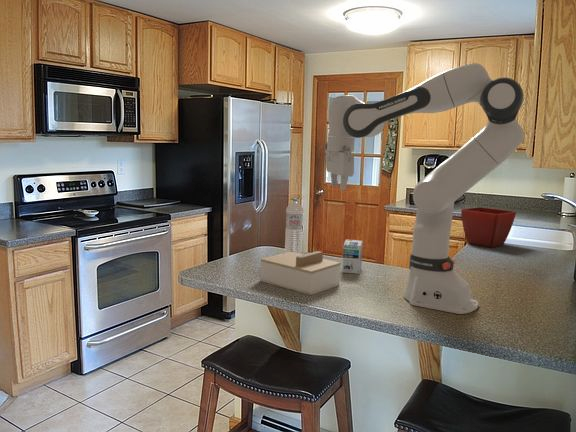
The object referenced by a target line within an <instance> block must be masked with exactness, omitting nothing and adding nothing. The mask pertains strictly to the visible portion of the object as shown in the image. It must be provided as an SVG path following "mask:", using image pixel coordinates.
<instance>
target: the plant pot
mask: <svg viewBox="0 0 576 432" xmlns="http://www.w3.org/2000/svg"><path fill="white" fill-rule="evenodd" d="M460 210H461V211H460V213H461V214H460V215H461V223H462V227H463V232H464V235H465V238H466V242H467V244H471V245H477V246H482V247H486V248H494V247H500V246H503V245H504V244H505V243H506V240H508V239H507V238H508V236H509V235H510V232H511V229H512V227H513V224H514V222H515V219H516V215H517V212H516V211H513V210H506V209H498V208H491V207H471V208H469V207H468V208H462V209H460Z"/></svg>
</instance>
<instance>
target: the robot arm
mask: <svg viewBox="0 0 576 432" xmlns="http://www.w3.org/2000/svg"><path fill="white" fill-rule="evenodd" d="M524 97H525V95H524V91H523V88H522V86H521V85H520V84H519V82H518V81H516V80H515V79H513V78H510V77H507V76H506V77H497V78H495V79H492V78H490V75H489V73H488V71H487V69H486V68H485V67H484V66H483V65H482V64H480V63H477V62H474V63H473V62H472V63H469V64H465V65H459V66H457V67H453V68H450V69H447V70H445V71H442V72H440V73H438V74H436V75H433V76H432V77H430V78H428V79H426V80H424V81H422V82H421V83H419V84H417V85H415V86H413V87H412V88H409V89H408V90H406V91H404V92H401V93H399V94H396V95H392V96H390V97H388V98H385V99H382V100H380V101H377V102H374V103H365V102H364V101H361V100H359V99H358V98H357V97H356V96H354V95H352V94H346V95H345V94H344V95H339V96H336V97H334V98H333V99H332V100H331V102H330V105H329V114H328V129H329V131H328V133H327V141H326V143H325V145H324V151H326V152H325V169H326V172H328V173H330V180H331V184H330V185H331V187H335V188H336V187H337V188H338V183H339V182H338V176H340V183H339V190H341V191H344V190H347V184H348V181H349V177H350V178H351V177H353V176H354V174H355V173H354V172H355V155H354V152H355V139H356V138H359V139H360V138H372V137H375V136H377V135H380V134H381V133H382V131H383V130H385V129H384V128H385V127H386V122H389V121H392V120H395V119H397V118H400V117H403V116H406V115H409V114H410V115H411V114H437V113H442V112H446V111H449V110H452V109H455V108H457V107H460V106H463V105H466V104H470V103H477V104H479V106H480V107H481V109H482V110H483V112H484V113H485V115H486V117H487V119H488V120H487V123H486V124H485V126H484V127H483V128H482V129H481V130H480V131H479V132H477V134H475V135H474V136H473V137H471V138H470V139H469V140H468V141H467V142H465V143H464V145H462V146H461V147H459V149H458V150H456V151H455V152H454V153H453V154H452V155H450V156H449V157H448V158H446V159H445V160H444V161H443V162H442V163H440V164H439V165H438V166H436V168H434V169H433V170H432V171H431V172H429V173H428V174H427V175H426V176H425V177H423V178H422V179H421V180H419V181H418V182H417V183H416V185H415V186H414V189H413V192H412V201H413V203H414V206H415V207H416V208H417V209H416V215H415V219H414V220H415V221H414V226H413V231H412V244H411V245H412V246H411V247H412V248H411V252H410V255H409V265H408V266H409V267H408V268H409V273H408V280H407V284H406V286H405V290H404V292H403V293H404V294H403V298H404V299H406V300H407V301H408V303H409V304H410V305H412V306H415V307H421V308H425V309H431V310H437V311H442V312H446V313H452V314H458V315H464V314H469V313H472V312H473V311H476V310H477V309H478V308H479V302H478V300H476V299H474V298H472V290H471V289H472V288H471V287H470V284H469V283H468V282H467V281H466V280H465V279H464V278H463V277H461V276H460V274H458V273H457V272H456V270H454V265H455V264H456V261H457V260H456V259H454V260H453V259H451V257H450V256H449V252H450V242H451V241H450V240H451V239H450V237H451V229H452V222H453V215H454V208H455V206H454V205H455V202H456V201H457V200H458V199H460V198H461V197H462V196H463V195H464V194H466V193H467V192H468V191H469V190H471V188H473V187H474V186H476V184H477V183H479V182H481V180H483V179H484V178H485V177H486V176H487V175H489V174H490V173H492V172H493V171H494V170H496V168H497V167H499V166H500V165H502V163H503V162H505V161H506V160H507V159H508V158H509V157H511V155H512V154H514V152H515V151H516V150H517V149H518V148H519V147H520V145H522V143H523V142H524V139H525V134H524V133H525V132H524V129H523V127H522V126H521V125H520V123H519V122H518V120H517V119H516V118H517V117H518V113H519V111H520V110H521V109H522V107H523V105H524V99H525V98H524Z"/></svg>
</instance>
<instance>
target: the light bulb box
mask: <svg viewBox="0 0 576 432" xmlns="http://www.w3.org/2000/svg"><path fill="white" fill-rule="evenodd" d="M363 243H364V242H363V240H356V239H348V238H347V239H345V240H344V243H343V248H342V250H343V252H342V253H343V254H342V269H341V270H342V273H345V274H357V275H360V274H361V271H362V262H363V261H362V259H363Z"/></svg>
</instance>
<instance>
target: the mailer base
mask: <svg viewBox="0 0 576 432" xmlns="http://www.w3.org/2000/svg"><path fill="white" fill-rule="evenodd" d="M259 273H260V277H259V281H260V282H262V283H266V284H270V285H273V286H277V287H281V288H284V289H288V290H290V291H294V292H298V293H301V294H304V295H307V296H312V295H316V294H318V293H321V292H325V291H327V290H330V289H332V288H335V287H338V286H340V282H341V281H340V276H341V264H340V265H339V266H335V267H332V268H329V269H326V270H322V271H319V272H316V273H313V274H310V273H306V272H302V271H298V270H294V269H290V268H286V267H282V266H278V265H274V264H270V263H266V262H262V261H261V260H260V271H259Z"/></svg>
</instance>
